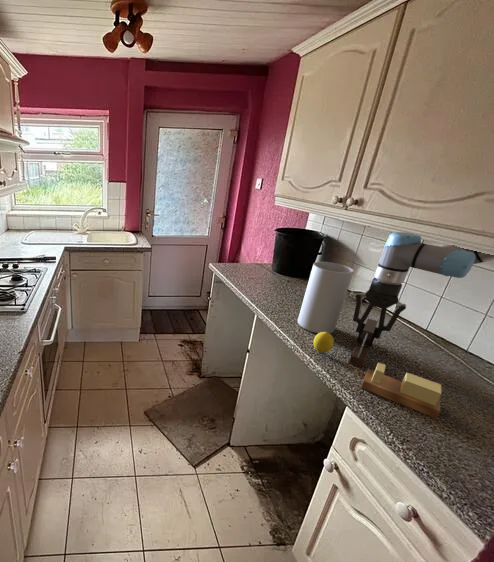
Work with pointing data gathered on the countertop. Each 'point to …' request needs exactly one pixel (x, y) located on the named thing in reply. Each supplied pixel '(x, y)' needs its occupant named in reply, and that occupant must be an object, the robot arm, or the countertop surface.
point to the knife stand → (354, 357)
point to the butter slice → (378, 373)
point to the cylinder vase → (324, 296)
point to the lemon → (323, 342)
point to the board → (398, 394)
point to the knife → (368, 332)
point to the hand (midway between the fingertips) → (364, 342)
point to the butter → (421, 389)
